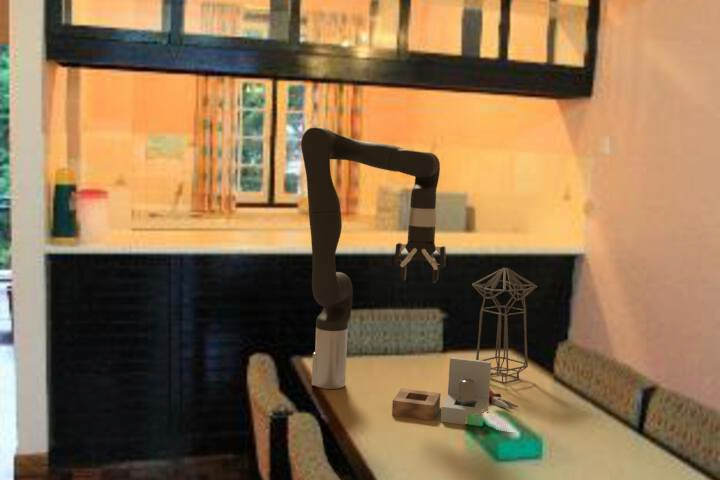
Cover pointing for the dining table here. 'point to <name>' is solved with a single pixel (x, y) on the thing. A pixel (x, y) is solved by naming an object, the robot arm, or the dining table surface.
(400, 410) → the socket block
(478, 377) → the block
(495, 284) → the geometric lantern
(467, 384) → the steel rod
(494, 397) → the pliers
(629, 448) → the dining table surface
